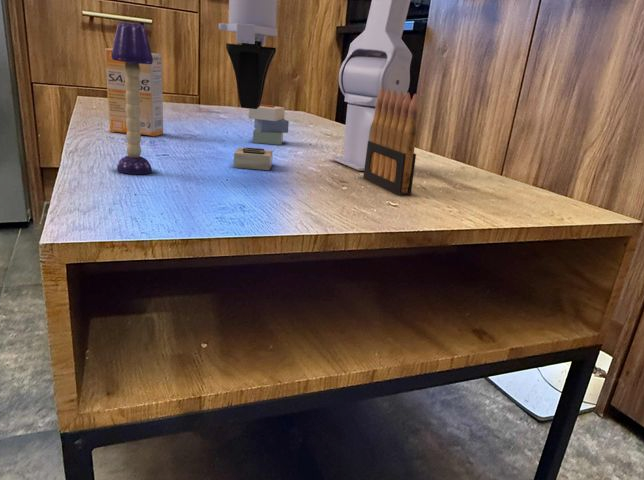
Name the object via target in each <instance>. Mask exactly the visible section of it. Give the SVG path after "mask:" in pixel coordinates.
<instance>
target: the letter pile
mask: <svg viewBox="0 0 644 480" xmlns="http://www.w3.org/2000/svg"><path fill="white" fill-rule="evenodd" d="M285 108H286V107H284V106H277V105H270V104H269V105H268V104H260V106H259V107H258V108H257V109H249V108H248V119H252V120H254V124H253V125H254V126H253V127H254V129H253V133H252V143H254V144H265V145H266V144H267V145H274V146H275V145H276V146H282V144H283V141H284V139H283V138H284V133H285V134H288V133H289V124H290V123H289V120H287V119H286V118H285V110H286V109H285Z"/></svg>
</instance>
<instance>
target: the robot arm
mask: <svg viewBox="0 0 644 480" xmlns="http://www.w3.org/2000/svg"><path fill="white" fill-rule="evenodd" d="M410 4H411V0H371V2H370V7H369V11H368V16H367V20H366V25H365V28H364V30H363V31H362V32H361V33H360V34H359V35H358V36H356V38H354V40H352V42H350V44H349V48H348V52H347V55H346V57H345V58H344V60H343V61H342V63H341V66H340V68H339V71H338V72H339V73H338V84H339V85H338V86H339V89H340V92H341V93H342V95H343V96H344V102H345V103H347V106H346V117H345V128H344V129H345V130H344V139H343V147H342V156H332V157H331V160H332V161H335V162H338V163H339V164H342V165H345V166H347V167H349V168H352V169H354V170H356V171H362V172H364V168H365V160H366V152H367V145H368V141H370V137H371V129H372V122H373V118H374V114H375V108H376V102H377V98H378V94H379V92H380V90H381V88H382V87H383V89H384V94H385V93H386V91H387V89H390V94H391V95H392V93H393V91H394V90H396V93H397V97H398V95H399V93H400V91H402V92H403V97H404V98H405V96H406V94H407V93H408V92H409V88H410V83H411V72H410V71H411V63H412V59H413V53H412V52H411V51H410V49H409V48H408V45H406V43H405V42H404V41H403V39H402V37H403V33H404V28H405V25H406V20H407V16H408V13H409V8H410ZM277 10H278V0H228V23H221V22H219V23H218V30H222V31H227V32H228V33H235V34H236V35H235V36H236V37H235V42H236V43H228V42H227V43H225V49H226V51H227V54H228V56H229V58H230V61H231V65H232V67H233V72H234V76H235V83H236V88H237V95H238V101H239V105H240V108H241V109H248V110H249V109H257V108H258V107H259V106H260V105H261V103H262V100H263V93H264V89H265V84H266V79H267V75H268V71H269V69H270V66H271V64H272V61H273V58H274V57H275V55H276V53H277V48H276V47H271V46H266V37H278V30H279V29H278V28H277V16H278V15H277V13H278V11H277Z"/></svg>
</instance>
